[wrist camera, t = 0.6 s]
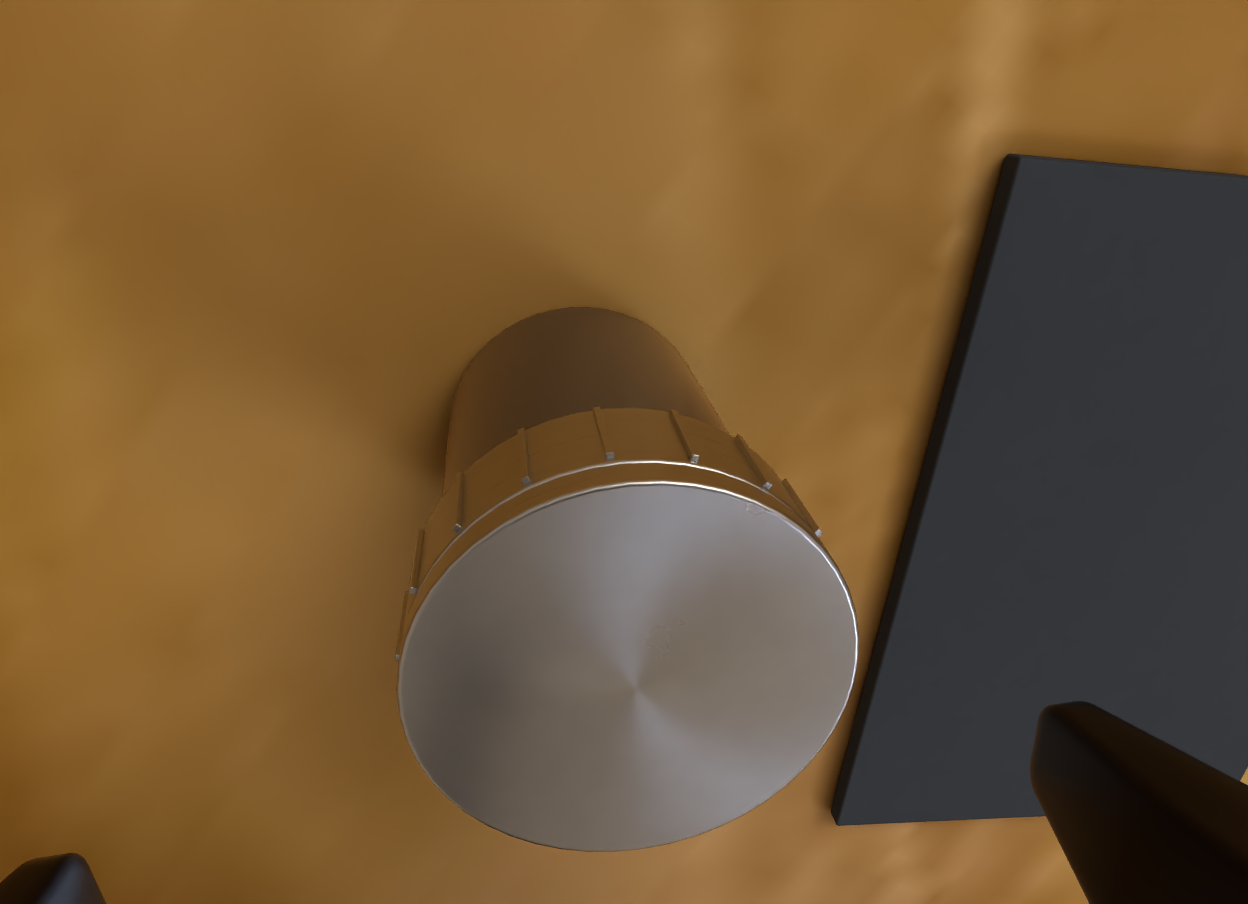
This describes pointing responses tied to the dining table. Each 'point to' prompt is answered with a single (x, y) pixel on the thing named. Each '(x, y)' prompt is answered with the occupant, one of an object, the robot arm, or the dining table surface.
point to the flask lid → (621, 633)
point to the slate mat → (1073, 498)
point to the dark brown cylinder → (566, 379)
